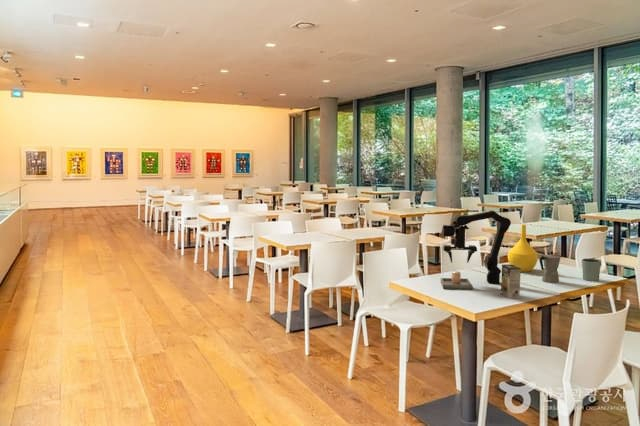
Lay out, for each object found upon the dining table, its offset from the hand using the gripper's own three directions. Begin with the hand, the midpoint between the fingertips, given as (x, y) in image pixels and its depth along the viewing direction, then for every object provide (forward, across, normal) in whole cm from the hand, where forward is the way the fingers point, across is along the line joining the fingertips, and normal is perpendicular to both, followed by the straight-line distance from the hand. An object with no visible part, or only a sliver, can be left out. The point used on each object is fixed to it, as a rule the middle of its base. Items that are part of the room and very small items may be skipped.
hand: (459, 262), depth 292 cm
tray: (+12, +3, +8) cm, 15 cm away
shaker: (+11, +3, +8) cm, 14 cm away
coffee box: (+12, -23, +26) cm, 37 cm away
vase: (+12, -45, -37) cm, 60 cm away
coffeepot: (+12, -53, -8) cm, 55 cm away
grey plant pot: (+12, -79, -14) cm, 81 cm away
